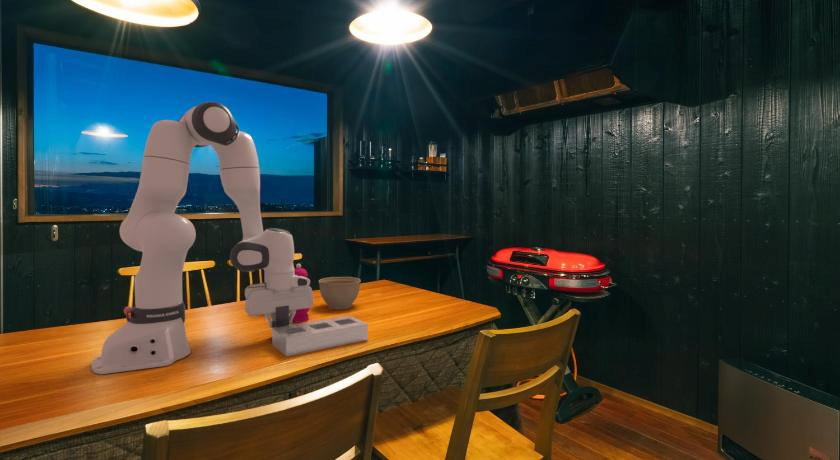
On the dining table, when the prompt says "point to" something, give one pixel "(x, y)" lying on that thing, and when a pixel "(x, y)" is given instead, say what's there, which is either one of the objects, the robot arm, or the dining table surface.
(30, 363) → the dining table surface
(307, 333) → the white slotted block holder
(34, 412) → the dining table surface
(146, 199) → the robot arm
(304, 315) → the pepper mill
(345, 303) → the planter bowl
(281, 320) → the steel block
